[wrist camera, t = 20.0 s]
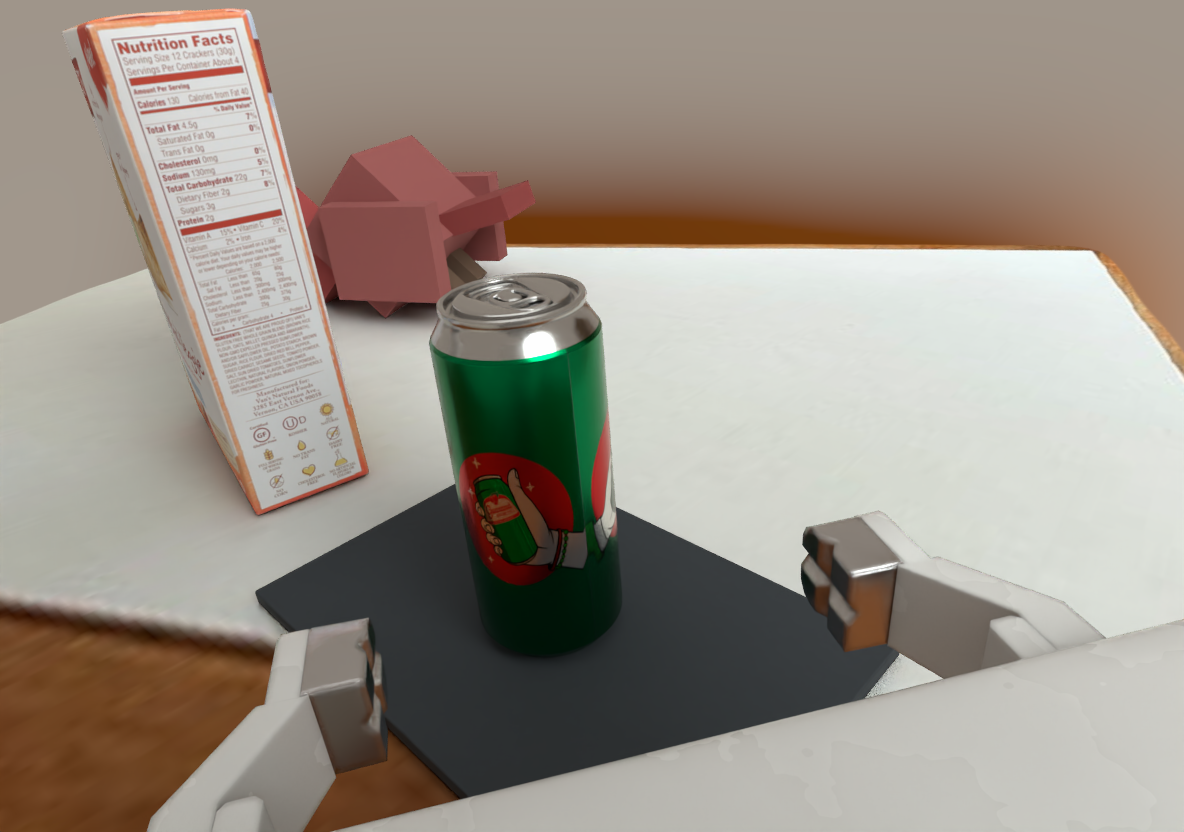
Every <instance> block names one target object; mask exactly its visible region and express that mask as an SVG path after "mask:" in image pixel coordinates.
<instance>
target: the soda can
mask: <svg viewBox="0 0 1184 832" xmlns="http://www.w3.org/2000/svg"><path fill="white" fill-rule="evenodd" d="M586 295H587V292H586V289H585V287H584V285H583V284H582V283H581V282H579V281H578V280H576V279H573V278H570V277H567V276H562V275H556V274H548V273H517V274H507V275H500V276H493V277H489V278H484V279H480V280H476V281H473V282H470V283H467V284H464V285H461V286H459V287H456V288H454V289H452V290H450V291H449V292H447V293H446V294H444V295H443V296H442V297H441V298H440V299H439V300H438V302H437V306H436V312H437V314H438V317H439V319H438V321H437V324H436V326H435V328H434V330H433V333H432V335H431V337H430V341H429V346H430V352H431V357H432V362H433V368H434V373H435V378H436V384H437V389H438V394H439V400H440V405H441V410H442V416H443V421H444V426H445V432H446V437H447V442H448V448H449V453H450V458H451V464H452V469H453V474H454V480H455V485H456V490H457V496H458V501H459V506H460V512H461V517H462V522H463V528H464V533H465V538H466V544H467V549H468V554H469V560H470V565H471V570H472V576H473V581H474V586H475V592H476V597H477V602H478V608H479V613H480V618H481V622H482V625H483V627H484V629H485V631H486V632H487V633H488V634H489V635H490V637H491V638H493V639H494V640H495V641H496V642H497V643H499V644H501V645H502V646H504V647H506V648H508V649H510V650H512V651H514V652H517V653H520V654H523V655H527V656H532V657H541V658H549V657H559V656H564V655H568V654H572V653H574V652H577V651H579V650H582V649H584V648H585V647H587V646H589V645H591V644H592V643H594V642H595V641H596V640H598V639H599V638H600V637H601V636H602V635H603V634H604V633H605V632H606V631H607V630H608V629H609V628H610V627H611V626H612V625H613V624H614V622H615V621H616V619H617V618H618V615H619V613H620V611H621V607H622V583H621V570H620V557H619V544H618V531H617V518H616V504H615V491H614V478H613V465H612V452H611V439H610V425H609V412H608V399H607V386H606V373H605V360H604V346H603V333H602V323H601V320H600V318H599V317H598V316H597V314H596V313H595V312H594V310H593V309H592V308H591V307H590V305H589V304H588V303H587V301H586Z"/></svg>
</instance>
